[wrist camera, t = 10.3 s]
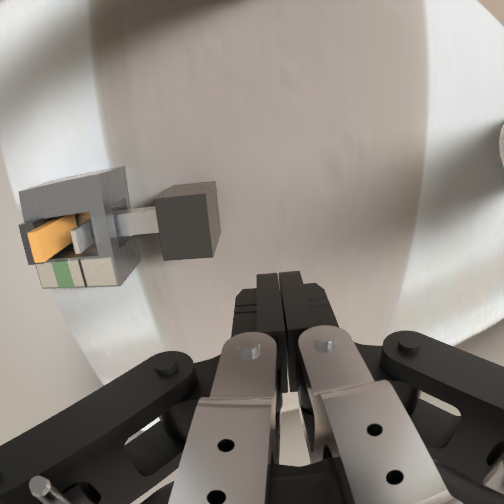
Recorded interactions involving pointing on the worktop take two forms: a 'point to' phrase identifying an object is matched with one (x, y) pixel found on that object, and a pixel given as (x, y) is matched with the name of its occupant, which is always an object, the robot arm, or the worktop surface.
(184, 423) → the robot arm
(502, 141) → the decorative candle
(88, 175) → the gauge housing
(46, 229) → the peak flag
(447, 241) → the worktop surface
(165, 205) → the dark cube on shaft
